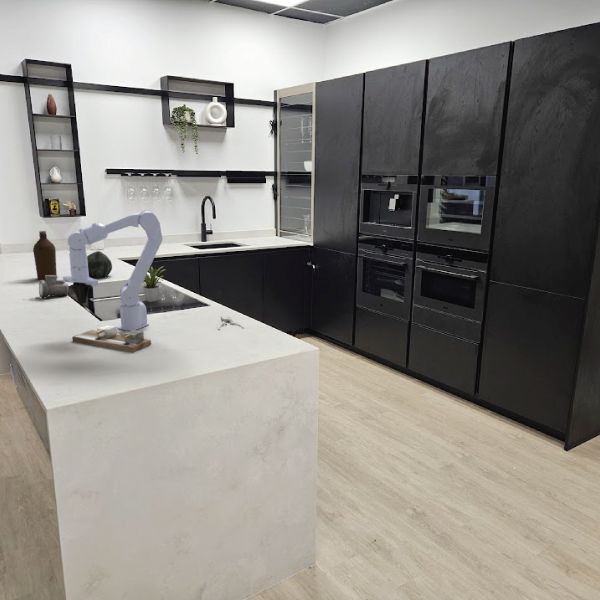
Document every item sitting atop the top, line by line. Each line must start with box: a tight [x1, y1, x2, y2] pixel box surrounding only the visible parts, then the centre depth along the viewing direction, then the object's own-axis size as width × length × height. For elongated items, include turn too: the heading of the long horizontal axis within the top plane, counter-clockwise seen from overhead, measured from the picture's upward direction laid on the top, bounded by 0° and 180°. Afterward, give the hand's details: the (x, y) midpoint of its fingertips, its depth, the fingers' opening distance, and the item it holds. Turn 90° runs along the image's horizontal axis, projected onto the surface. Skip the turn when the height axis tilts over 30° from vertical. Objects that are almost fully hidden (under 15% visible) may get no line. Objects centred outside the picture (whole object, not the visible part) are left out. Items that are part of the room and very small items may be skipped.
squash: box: [87, 250, 113, 278], centre depth 285 cm, size 14×15×15 cm
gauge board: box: [72, 329, 152, 353], centre depth 178 cm, size 9×26×4 cm, turn 67°
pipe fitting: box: [38, 275, 70, 299], centre depth 240 cm, size 12×8×10 cm, turn 125°
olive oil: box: [32, 230, 58, 281], centre depth 277 cm, size 11×11×25 cm
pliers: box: [216, 315, 245, 331], centre depth 203 cm, size 10×2×15 cm
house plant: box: [142, 265, 167, 303], centre depth 235 cm, size 14×14×16 cm
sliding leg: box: [96, 325, 117, 339], centre depth 179 cm, size 7×4×3 cm, turn 157°
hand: (82, 303), depth 188 cm, fingers closed
